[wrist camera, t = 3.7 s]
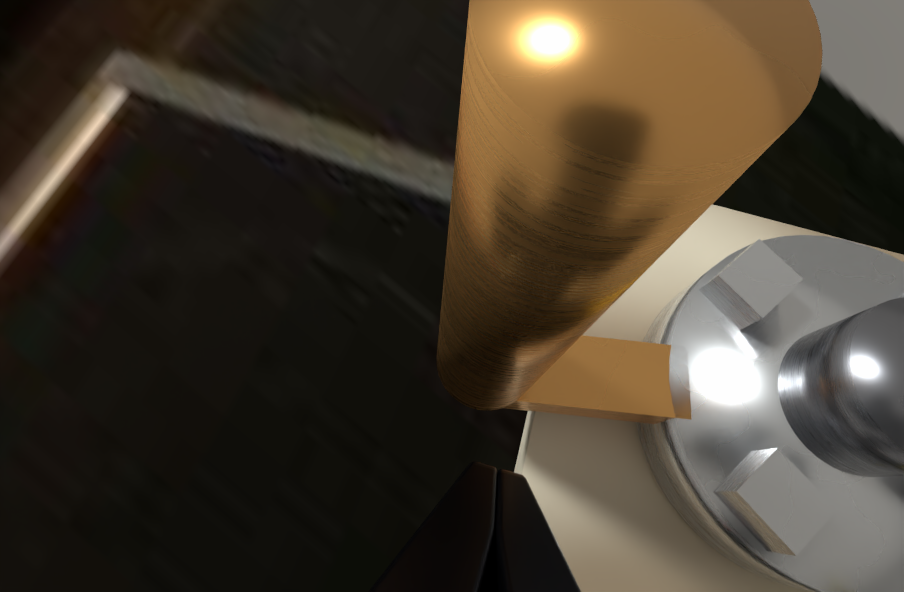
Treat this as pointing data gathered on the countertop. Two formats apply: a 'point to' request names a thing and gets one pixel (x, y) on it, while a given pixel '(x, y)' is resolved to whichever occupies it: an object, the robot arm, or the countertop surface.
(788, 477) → the disc with rod
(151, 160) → the countertop surface
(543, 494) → the flange board
